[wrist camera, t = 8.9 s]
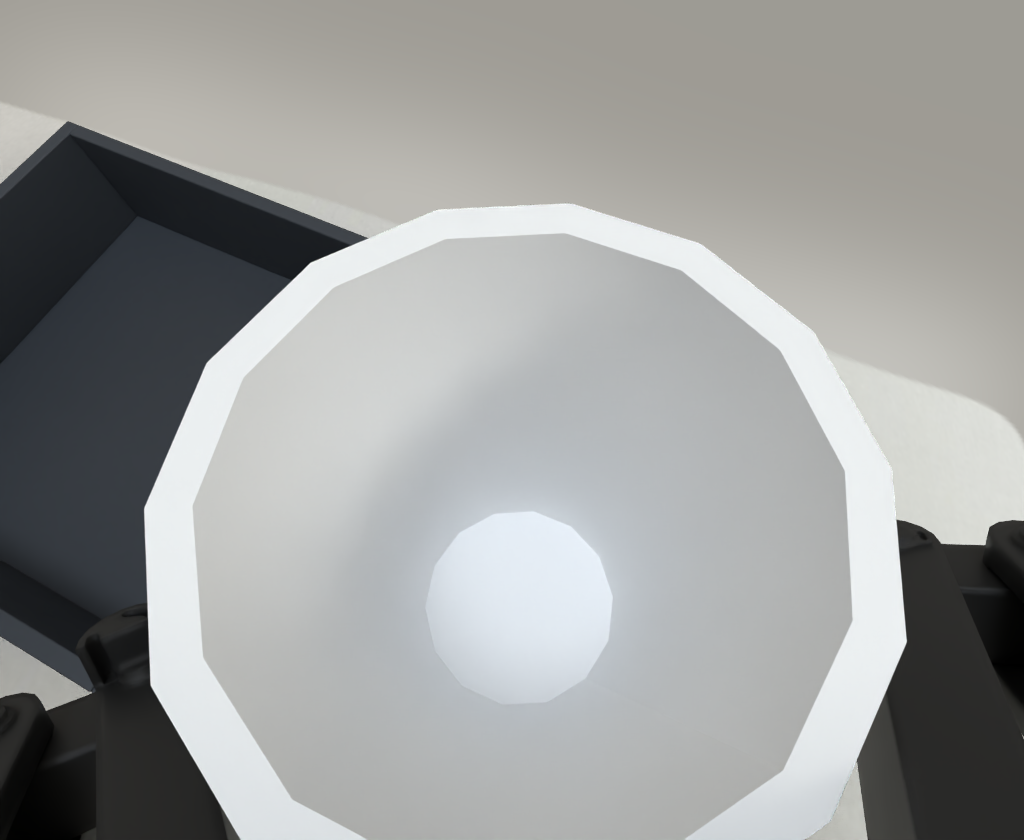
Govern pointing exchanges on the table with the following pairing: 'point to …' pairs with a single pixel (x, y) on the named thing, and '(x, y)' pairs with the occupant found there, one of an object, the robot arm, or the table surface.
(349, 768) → the foam cup
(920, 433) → the table surface
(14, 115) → the table surface
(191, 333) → the tray
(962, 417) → the table surface
